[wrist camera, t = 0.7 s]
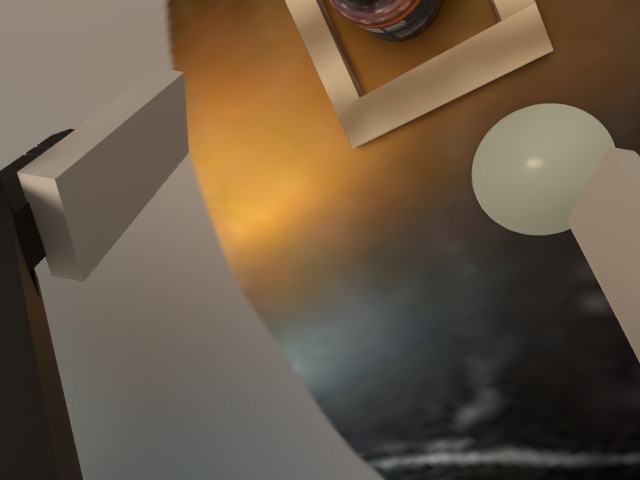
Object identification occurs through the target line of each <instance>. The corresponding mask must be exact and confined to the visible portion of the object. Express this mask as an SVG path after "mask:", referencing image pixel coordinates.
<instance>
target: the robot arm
mask: <svg viewBox="0 0 640 480" xmlns="http://www.w3.org/2000/svg"><path fill="white" fill-rule="evenodd" d="M188 153H189V146H188V131H187V115H186V99H185V84H184V72H179V71H173V70H167V69H161V68H159V69H158V70H157V71H155V72H154V73H152V74H151V75H150V76H148V77H147V78H146V79H144V80H143V81H142V82H140V83H139V84H138V85H136V86H135V87H133V88H132V89H130V90H129V91H128V92H126V93H125V94H124V95H122V96H121V97H120V98H118V99H117V100H115V101H114V102H113V103H111V104H110V105H109V106H107V107H106V108H104V109H103V110H102V111H100V112H99V113H98V114H96V115H95V116H93V117H92V118H91V119H89V120H88V121H87V122H85V123H84V124H82V125H81V126H80V127H79V128H77V129H76V130H74V129H68V130H66V131H63V132H60V133H57V134H54V135H52V136H50V137H48V138H47V139H45V140H44V141H43V142H41V143H40V144H38V145H37V147H34V148H33V149H31V150H30V151H28V152H27V153H26V155H23V156H21V157H20V158H18V159H17V160H15V161H14V162H12V163H11V164H10V165H8V166H7V167H5V168H4V169H2V170H1V171H0V480H83V478H82V473H81V469H80V464H79V459H78V455H77V450H76V446H75V442H74V437H73V433H72V429H71V424H70V419H69V415H68V410H67V406H66V401H65V397H64V392H63V388H62V384H61V379H60V375H59V370H58V366H57V361H56V357H55V352H54V348H53V344H52V339H51V334H50V330H49V325H48V321H47V316H46V312H45V308H44V303H43V299H42V294H41V290H40V285H39V281H38V277H37V275H36V272H35V269H34V268H35V266H36V265H37V264H38V263H39V262H40V261H41V260H42V259H43V258H44V257H46V260H47V262H48V266H49V269H50V272H51V274H52V276H57V277H62V278H67V279H73V280H77V281H83V282H84V281H85V280H86V278H87V277H88V276H89V275H90V273H91V272H92V271H93V270H94V269H95V267H96V266H97V265H98V264H99V262H100V261H101V260H102V259H103V257H104V256H105V255H106V254H107V252H108V251H109V250H110V249H111V248H112V246H113V245H114V244H115V243H116V241H117V240H118V239H119V238H120V236H121V235H122V234H123V233H124V232H125V230H126V229H127V228H128V227H129V225H130V224H131V223H132V222H133V220H134V219H135V218H136V217H137V215H138V214H139V213H140V212H141V211H142V209H143V208H144V207H145V206H146V204H147V203H148V202H149V201H150V199H151V198H152V197H153V196H154V195H155V193H156V192H157V191H158V190H159V188H160V187H161V186H162V185H163V183H164V182H165V181H166V180H167V179H168V177H169V176H170V175H171V174H172V172H173V171H174V170H175V169H176V168H177V166H178V165H179V164H180V163H181V161H182V160H183V159H184V158H185V156H186V155H187V154H188ZM567 222H568V224H569V226H570V228H571V230H572V232H573V234H574V236H575V238H576V240H577V242H578V244H579V246H580V248H581V250H582V251H583V253H584V255H585V257H586V259H587V261H588V263H589V265H590V267H591V269H592V271H593V273H594V275H595V277H596V279H597V281H598V283H599V284H600V286H601V288H602V290H603V292H604V294H605V296H606V298H607V300H608V302H609V304H610V306H611V308H612V310H613V312H614V314H615V315H616V317H617V319H618V321H619V323H620V325H621V327H622V329H623V331H624V333H625V335H626V337H627V339H628V341H629V343H630V345H631V347H632V348H633V350H634V352H635V354H636V356H637V358H638V360H639V362H640V156H639V155H638V154H637V153H636V152H635V151H630V150H624V149H619V148H613V147H609V148H608V150H607V151H606V153H605V155H604V157H603V158H602V160H601V162H600V164H599V165H598V167H597V169H596V170H595V172H594V174H593V176H592V177H591V179H590V181H589V183H588V184H587V186H586V188H585V189H584V191H583V193H582V195H581V196H580V198H579V200H578V202H577V203H576V205H575V207H574V208H573V210H572V212H571V214H570V215H569V217H568V219H567Z"/></svg>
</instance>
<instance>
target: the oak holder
mask: <svg viewBox="0 0 640 480" xmlns="http://www.w3.org/2000/svg"><path fill="white" fill-rule="evenodd" d="M285 1H286V4H287V6H288V8H289V10H290V12H291V15H292V17H293V19H294V21H295V23H296V26H297V28H298V30H299V32H300V34H301V37H302V39H303V41H304V43H305V45H306V48H307V50H308V52H309V54H310V56H311V59H312V61H313V63H314V65H315V67H316V70H317V72H318V74H319V76H320V78H321V81H322V83H323V85H324V87H325V89H326V92H327V94H328V96H329V98H330V100H331V103H332V105H333V107H334V109H335V111H336V114H337V116H338V118H339V120H340V122H341V125H342V127H343V129H344V131H345V133H346V136H347V138H348V140H349V142H350V144H351V147H352V149H353V148H356V147H358V146H361V145H363V144H365V143H367V142H369V141H371V140H373V139H375V138H377V137H379V136H381V135H383V134H385V133H387V132H389V131H391V130H393V129H395V128H397V127H399V126H401V125H404V124H406V123H408V122H410V121H412V120H414V119H416V118H418V117H420V116H422V115H424V114H426V113H428V112H430V111H432V110H434V109H436V108H438V107H440V106H442V105H444V104H446V103H448V102H451V101H453V100H455V99H457V98H459V97H461V96H463V95H465V94H467V93H469V92H471V91H473V90H475V89H477V88H479V87H481V86H483V85H485V84H487V83H489V82H491V81H493V80H496V79H498V78H500V77H502V76H504V75H506V74H508V73H510V72H512V71H514V70H516V69H518V68H520V67H522V66H524V65H526V64H528V63H530V62H532V61H534V60H536V59H538V58H541V57H543V56H545V55H547V54H549V53H550V52H552V51H553V48H552V45H551V42H550V40H549V37H548V34H547V32H546V29H545V26H544V24H543V21H542V19H541V16H540V13H539V11H538V8H537V5H536V3H535V0H491V3H492V6H493V8H494V11H495V13H496V16H497V18H498V21H499V23H497V24H495V25H494V26H492V27H490V28H488V29H486V30H484V31H482V32H481V33H479V34H477V35H475V36H473V37H471V38H469V39H468V40H466V41H464V42H462V43H460V44H458V45H456V46H455V47H453V48H451V49H449V50H447V51H445V52H444V53H442V54H440V55H438V56H436V57H434V58H432V59H431V60H429V61H427V62H425V63H423V64H421V65H419V66H418V67H416V68H414V69H412V70H410V71H408V72H406V73H405V74H403V75H401V76H399V77H397V78H395V79H393V80H392V81H390V82H388V83H386V84H384V85H382V86H380V87H379V88H377V89H375V90H373V91H371V92H369V93H367V94H366V95H364V93H363V90H362V88H361V86H360V84H359V81H358V79H357V77H356V74H355V72H354V70H353V68H352V65H351V63H350V61H349V59H348V56H347V54H346V52H345V50H344V47H343V45H342V43H341V41H340V38H339V36H338V34H337V32H336V29H335V27H334V25H333V23H332V20H331V18H330V16H329V14H328V11H327V9H326V7H325V5H324V2H323V0H285Z"/></svg>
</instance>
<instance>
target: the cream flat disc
mask: <svg viewBox="0 0 640 480" xmlns="http://www.w3.org/2000/svg"><path fill="white" fill-rule="evenodd" d="M609 147H613V148H615V145H614V142H613V140H612V138H611V136H610V134H609V133H608V131H607V130H606V128H605V127H604V126H603V125H602V124H601V123H600V122H599V121H598V120H597V119H596V118H594V117H593V116H592V115H590V114H588V113H587V112H585V111H583V110H581V109H578V108H576V107H572V106H568V105H564V104H555V103H545V104H537V105H532V106H528V107H524V108H522V109H519V110H516V111H514V112H512V113H511V114H509V115H507V116H505V117H504V118H503V119H501V120H500V121H498V122H497V123H496V124H495V125H494V126H493V127H492V128H491V129H490V130H489V131H488V132H487V133H486V135H485V136H484V138H483V139H482V141H481V142H480V144H479V146H478V148H477V151H476V153H475V156H474V160H473V165H472V184H473V190H474V193H475V196H476V198H477V200H478V202H479V204H480V206H481V207H482V208H483V210H484V211H485V212H486V213H487V214H488V216H489V217H490V218H492V219H493V220H494V221H495V222H497V223H498V224H500V225H501V226H503V227H505V228H507V229H509V230H512V231H515V232H518V233H522V234H527V235H549V234H556V233H559V232H563V231H566V230H569V229H571V228H570V226H569V224H568V222H567V219H568V217H569V215H570V214H571V212H572V210H573V208H574V207H575V205H576V203H577V202H578V200H579V198H580V196H581V195H582V193H583V191H584V189H585V188H586V186H587V184H588V183H589V181H590V179H591V177H592V176H593V174H594V172H595V170H596V169H597V167H598V165H599V164H600V162H601V160H602V158H603V157H604V155H605V153H606V151H607V150H608V148H609Z"/></svg>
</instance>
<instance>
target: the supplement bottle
mask: <svg viewBox="0 0 640 480" xmlns="http://www.w3.org/2000/svg"><path fill="white" fill-rule="evenodd" d="M329 1H330V3H331V4H332V6H333V7H334V8H335V10H336V11H337V12H338V13H340V14H341V15H342V16H343V17H344V18H346V19H348V20H349V21H351V22H353V23H354V24H356V25H358V26H360V27H362V28H363V29H365V30H367V31H369V32H371V33H372V34H374V35H376V36H378V37H380V38H383V39H387V40H393V41H398V40H405V39H408V38H411V37H413V36H415V35H417V34H419V33H420V32H422V31H423V30H424V29H425V28H426V27H427V26H428V25H429V24H430V23H431V22H432V20H433V19H434V17H435V16H436V14H437V12H438V10H439V8H440V5H441V2H442V0H329Z"/></svg>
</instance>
